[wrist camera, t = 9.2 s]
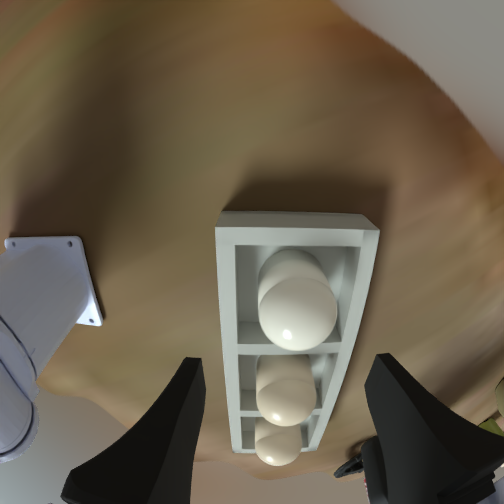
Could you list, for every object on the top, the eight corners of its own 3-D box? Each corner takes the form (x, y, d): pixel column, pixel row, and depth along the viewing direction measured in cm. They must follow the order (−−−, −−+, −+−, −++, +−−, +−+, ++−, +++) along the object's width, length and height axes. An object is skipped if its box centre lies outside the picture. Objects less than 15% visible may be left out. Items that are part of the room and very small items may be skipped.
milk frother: (449, 396, 27) (489, 482, 14) (404, 452, 34) (424, 522, 20) (355, 415, 27) (381, 528, 14) (324, 466, 34) (334, 547, 20)
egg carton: (234, 430, 28) (231, 478, 22) (221, 210, 18) (204, 254, 12) (312, 429, 28) (319, 475, 22) (362, 214, 18) (406, 256, 12)
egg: (257, 306, 20) (257, 368, 15) (258, 248, 18) (259, 301, 13) (319, 306, 20) (337, 365, 15) (327, 249, 18) (353, 299, 13)
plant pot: (471, 440, 37) (483, 469, 29) (454, 441, 35) (468, 474, 27) (503, 413, 33) (518, 441, 25) (491, 410, 31) (508, 443, 24)
